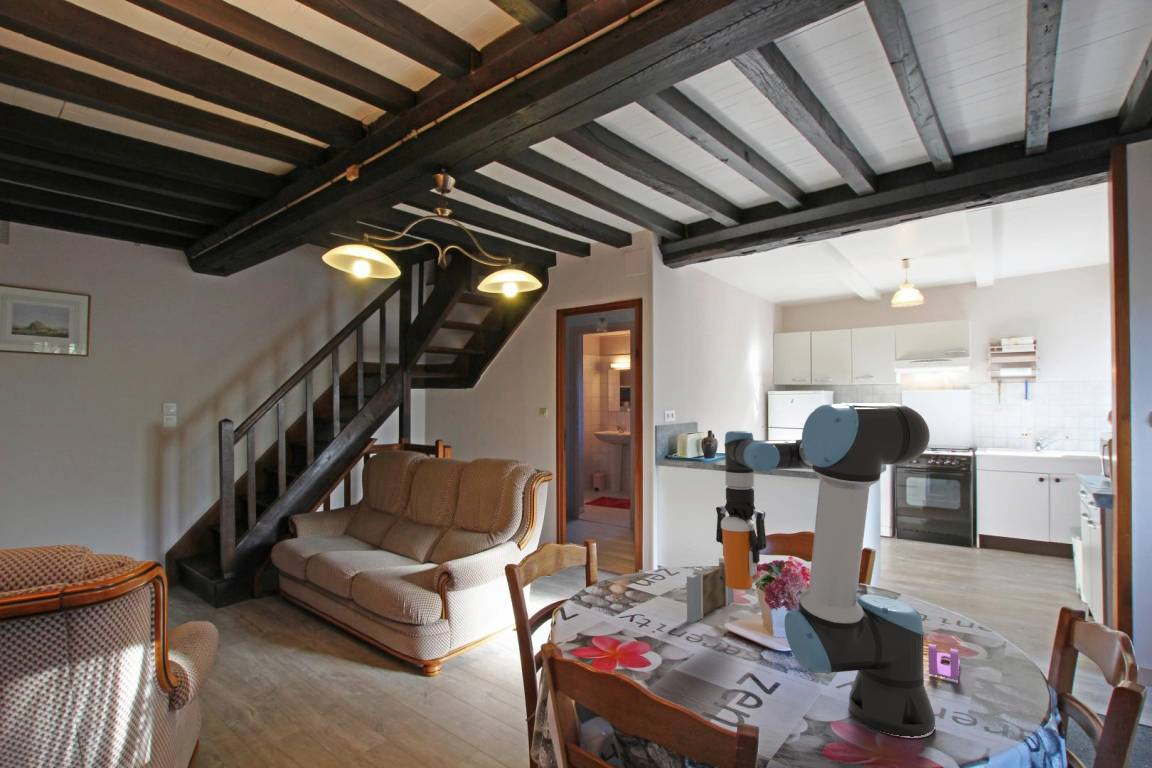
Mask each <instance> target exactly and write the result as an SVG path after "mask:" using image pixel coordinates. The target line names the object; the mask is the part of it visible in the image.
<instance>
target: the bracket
mask: <svg viewBox="0 0 1152 768" xmlns="http://www.w3.org/2000/svg"><path fill="white" fill-rule="evenodd" d="M937 647H938V646H937V644H933V643H928V675H929V674H933V675H937V676H942V677H945V678H950V679H954V680H958V676H959V677H960V671H959V666H960V667H961V660H960V658H959V649H954V648H950V651H949V653H946V652H938V650H937V649H938V648H937ZM941 658H948V659H950V663H949V665H945V664H942V662H941Z"/></svg>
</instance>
